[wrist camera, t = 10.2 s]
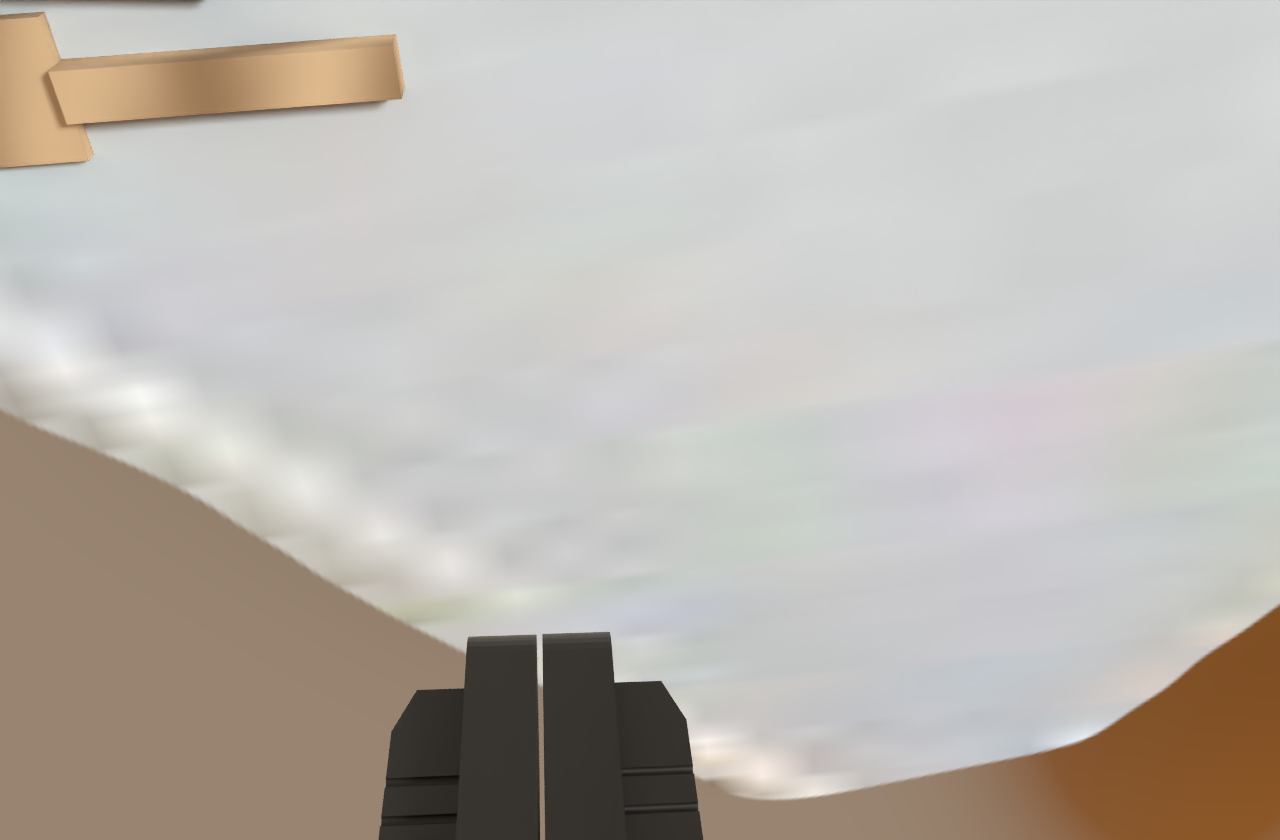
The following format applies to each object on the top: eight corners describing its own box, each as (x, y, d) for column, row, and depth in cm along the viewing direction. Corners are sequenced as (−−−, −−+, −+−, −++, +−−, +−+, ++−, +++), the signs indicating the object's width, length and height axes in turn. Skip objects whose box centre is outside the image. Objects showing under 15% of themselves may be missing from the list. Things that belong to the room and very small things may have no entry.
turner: (387, -14, 34) (383, -3, 33) (412, 128, 36) (409, 143, 35) (-165, 26, 33) (-185, 39, 32) (-99, 168, 36) (-117, 184, 35)
